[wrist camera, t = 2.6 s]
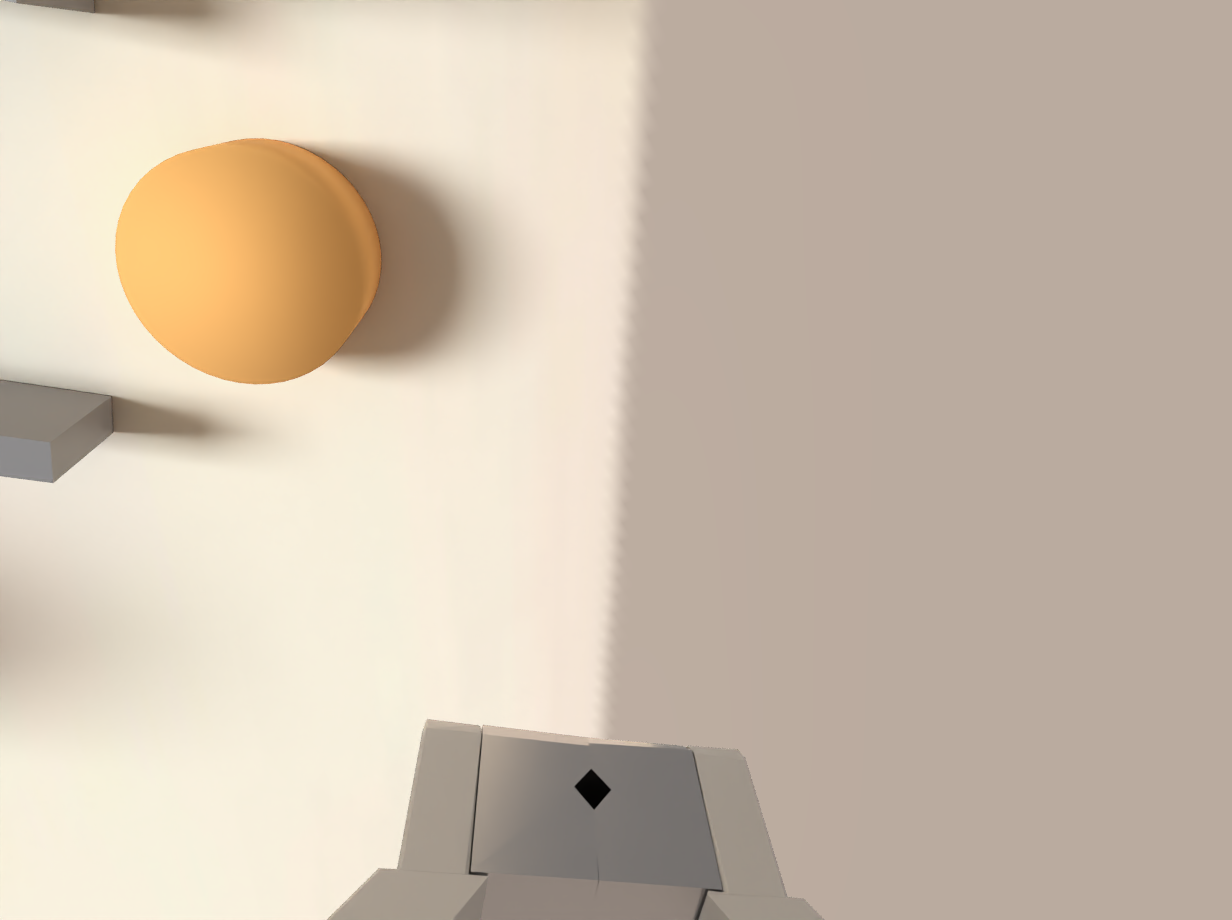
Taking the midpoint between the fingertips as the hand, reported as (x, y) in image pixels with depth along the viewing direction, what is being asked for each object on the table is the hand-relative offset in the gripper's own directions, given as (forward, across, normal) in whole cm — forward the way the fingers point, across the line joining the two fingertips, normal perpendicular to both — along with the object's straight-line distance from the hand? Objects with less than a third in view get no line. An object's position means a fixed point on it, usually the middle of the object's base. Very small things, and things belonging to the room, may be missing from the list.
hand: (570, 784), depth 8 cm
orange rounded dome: (+19, +8, 0) cm, 21 cm away
